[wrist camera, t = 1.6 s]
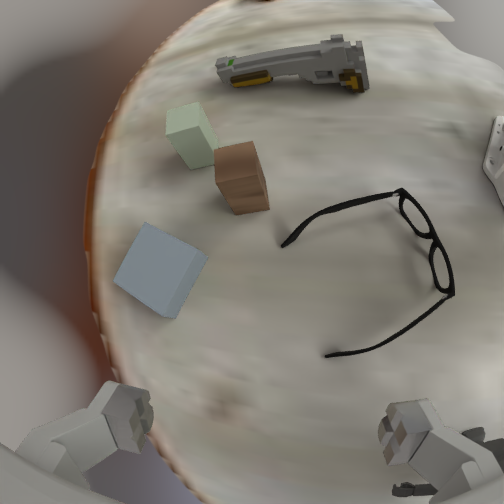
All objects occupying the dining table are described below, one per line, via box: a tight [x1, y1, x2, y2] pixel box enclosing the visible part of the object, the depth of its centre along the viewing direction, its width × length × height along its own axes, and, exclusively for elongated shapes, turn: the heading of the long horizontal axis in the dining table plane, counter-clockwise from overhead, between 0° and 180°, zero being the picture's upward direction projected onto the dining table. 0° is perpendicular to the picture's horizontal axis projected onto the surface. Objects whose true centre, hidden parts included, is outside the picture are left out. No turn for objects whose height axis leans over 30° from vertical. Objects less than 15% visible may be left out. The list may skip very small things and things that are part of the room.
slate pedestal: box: [113, 222, 208, 318], centre depth 38 cm, size 9×9×4 cm
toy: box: [215, 34, 369, 93], centre depth 42 cm, size 6×24×10 cm, turn 81°
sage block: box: [165, 101, 219, 170], centre depth 39 cm, size 4×4×9 cm
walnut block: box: [214, 141, 270, 215], centre depth 35 cm, size 4×4×9 cm
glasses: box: [281, 188, 455, 358], centre depth 32 cm, size 17×18×5 cm
